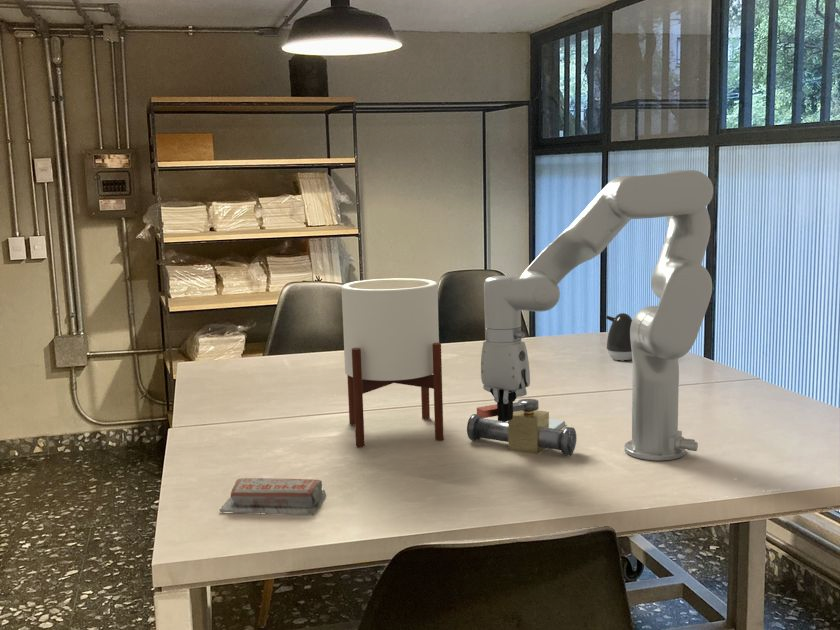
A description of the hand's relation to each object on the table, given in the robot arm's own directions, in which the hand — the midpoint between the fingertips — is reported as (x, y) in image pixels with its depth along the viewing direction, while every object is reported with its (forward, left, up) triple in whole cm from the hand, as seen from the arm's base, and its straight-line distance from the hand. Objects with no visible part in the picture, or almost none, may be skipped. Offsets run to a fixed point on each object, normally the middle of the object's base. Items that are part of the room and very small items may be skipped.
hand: (505, 419), depth 181 cm
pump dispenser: (+12, -106, -9) cm, 107 cm away
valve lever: (+1, -4, 0) cm, 5 cm away
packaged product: (+27, +44, -9) cm, 52 cm away
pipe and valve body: (+1, -9, -9) cm, 12 cm away
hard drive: (+3, -23, -9) cm, 25 cm away
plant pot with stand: (+33, -6, -9) cm, 34 cm away
